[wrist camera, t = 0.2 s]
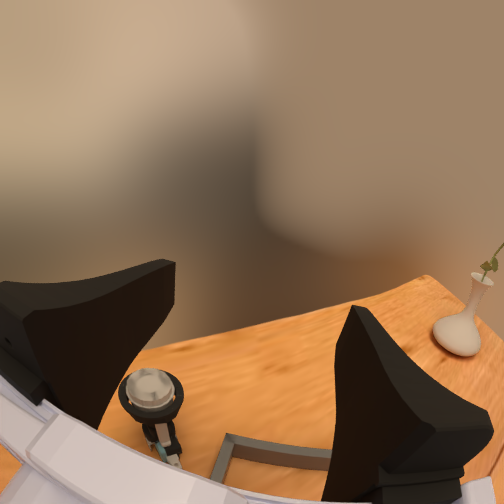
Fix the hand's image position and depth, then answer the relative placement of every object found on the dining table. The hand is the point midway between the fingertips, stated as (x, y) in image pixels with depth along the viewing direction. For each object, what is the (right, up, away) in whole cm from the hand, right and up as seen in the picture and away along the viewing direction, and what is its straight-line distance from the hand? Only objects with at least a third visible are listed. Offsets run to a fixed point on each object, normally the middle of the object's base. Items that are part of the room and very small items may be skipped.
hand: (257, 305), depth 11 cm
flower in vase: (+39, -15, +31) cm, 52 cm away
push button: (-9, -18, +11) cm, 23 cm away
